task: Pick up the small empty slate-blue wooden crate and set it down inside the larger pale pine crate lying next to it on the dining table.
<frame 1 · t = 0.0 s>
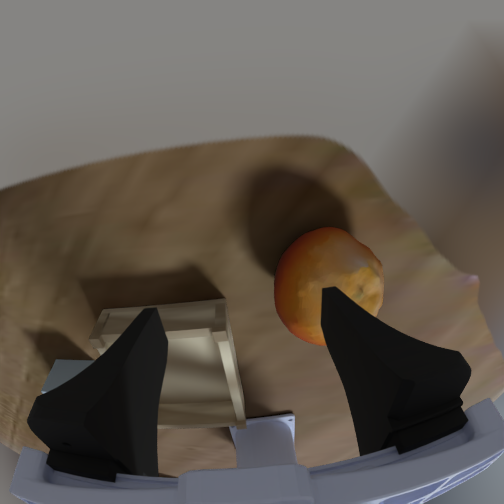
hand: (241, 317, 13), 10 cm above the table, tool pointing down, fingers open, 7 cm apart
small crate: (89, 383, 29), on the table
pine crate: (179, 362, 28), on the table
fruit: (316, 264, 24), on the table
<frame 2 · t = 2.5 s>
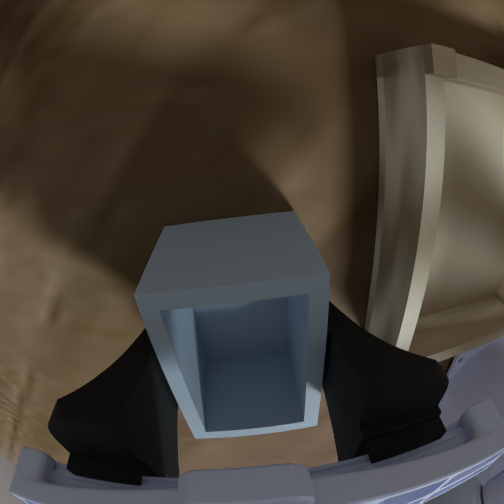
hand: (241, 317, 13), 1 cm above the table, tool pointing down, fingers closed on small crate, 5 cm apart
small crate: (239, 298, 14), on the table, touching gripper
pine crate: (464, 206, 13), on the table
when the fingers open (3 cm above the table, at t = 5.9 s): small crate stays where it is, resting on pine crate.
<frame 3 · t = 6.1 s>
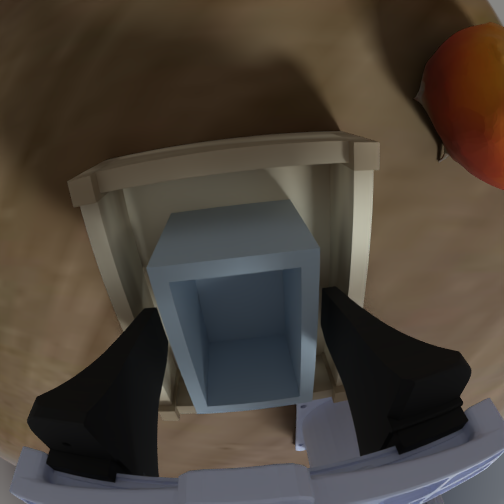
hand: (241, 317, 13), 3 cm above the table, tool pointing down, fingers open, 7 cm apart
small crate: (239, 281, 16), point 1 cm above the table, touching pine crate
pine crate: (238, 276, 16), on the table, touching small crate
fruit: (456, 101, 13), on the table
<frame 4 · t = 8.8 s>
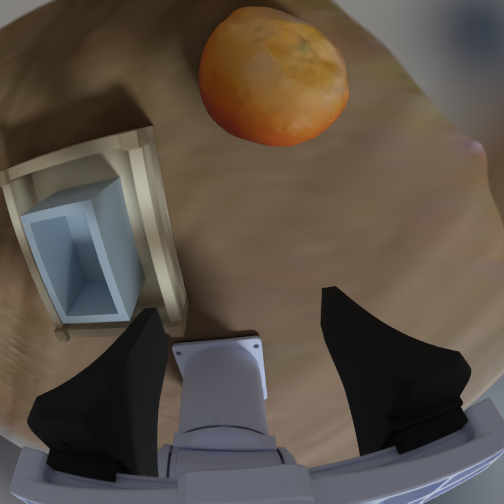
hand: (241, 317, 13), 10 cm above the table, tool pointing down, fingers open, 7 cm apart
small crate: (99, 236, 21), point 1 cm above the table, touching pine crate
pine crate: (102, 233, 21), on the table, touching small crate
fruit: (264, 81, 18), on the table
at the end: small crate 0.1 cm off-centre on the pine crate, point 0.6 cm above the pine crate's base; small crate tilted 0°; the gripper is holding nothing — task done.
